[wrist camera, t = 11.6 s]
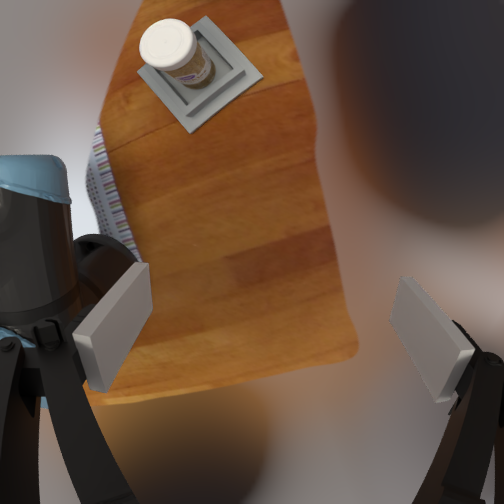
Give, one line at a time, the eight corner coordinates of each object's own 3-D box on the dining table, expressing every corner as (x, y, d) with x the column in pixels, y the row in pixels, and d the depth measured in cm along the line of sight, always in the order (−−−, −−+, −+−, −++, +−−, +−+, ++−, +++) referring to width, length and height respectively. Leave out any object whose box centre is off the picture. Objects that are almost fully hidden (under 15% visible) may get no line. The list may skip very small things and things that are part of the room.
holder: (191, 133, 37) (183, 133, 33) (140, 73, 34) (127, 67, 30) (263, 78, 34) (263, 71, 30) (207, 18, 31) (201, 6, 27)
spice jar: (187, 96, 34) (148, 77, 21) (173, 65, 32) (130, 34, 20) (222, 79, 33) (201, 50, 20) (208, 48, 32) (180, 8, 19)
